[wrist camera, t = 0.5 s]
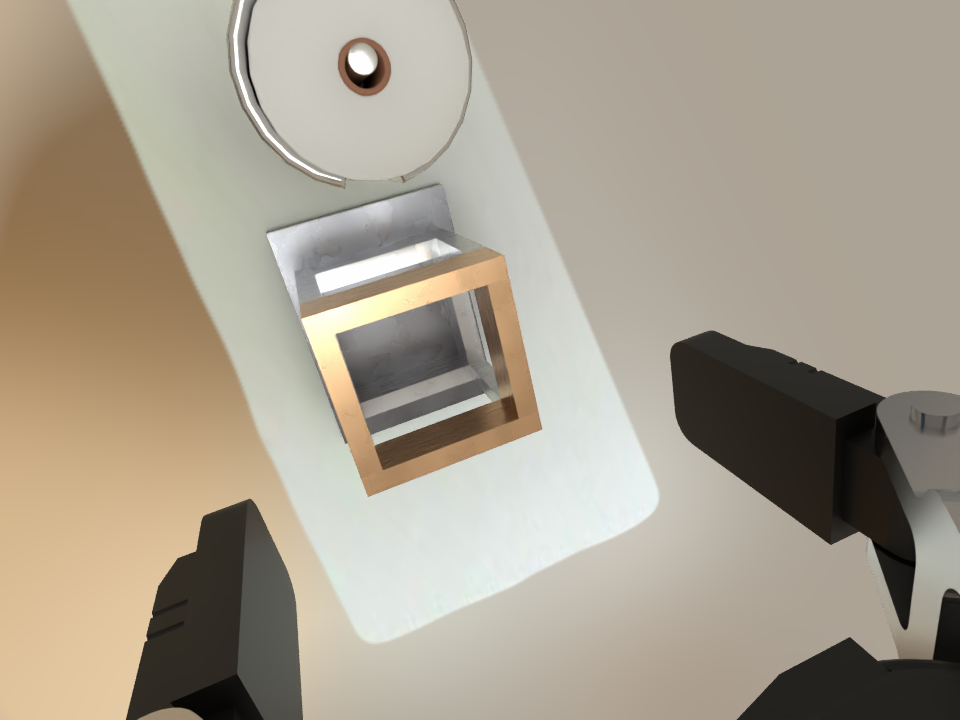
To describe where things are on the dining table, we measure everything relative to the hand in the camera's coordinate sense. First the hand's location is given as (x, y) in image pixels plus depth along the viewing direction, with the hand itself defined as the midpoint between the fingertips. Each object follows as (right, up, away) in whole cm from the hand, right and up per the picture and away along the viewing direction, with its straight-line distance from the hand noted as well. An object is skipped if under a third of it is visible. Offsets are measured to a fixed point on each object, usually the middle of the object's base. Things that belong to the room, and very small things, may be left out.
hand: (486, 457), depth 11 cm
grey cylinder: (-11, +17, +27) cm, 34 cm away
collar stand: (-7, +5, +32) cm, 33 cm away
